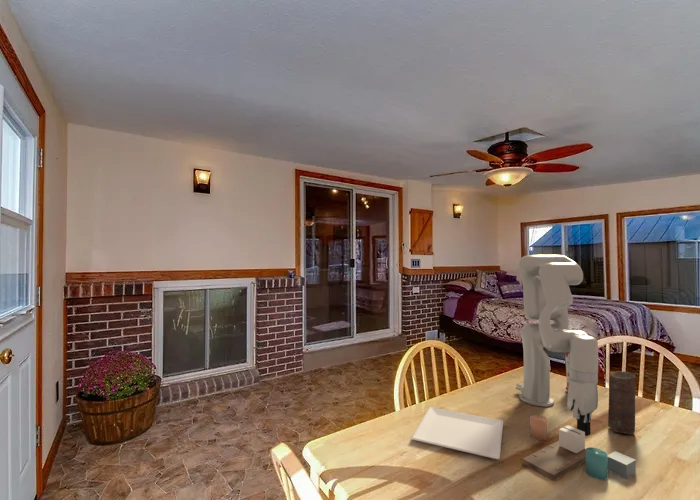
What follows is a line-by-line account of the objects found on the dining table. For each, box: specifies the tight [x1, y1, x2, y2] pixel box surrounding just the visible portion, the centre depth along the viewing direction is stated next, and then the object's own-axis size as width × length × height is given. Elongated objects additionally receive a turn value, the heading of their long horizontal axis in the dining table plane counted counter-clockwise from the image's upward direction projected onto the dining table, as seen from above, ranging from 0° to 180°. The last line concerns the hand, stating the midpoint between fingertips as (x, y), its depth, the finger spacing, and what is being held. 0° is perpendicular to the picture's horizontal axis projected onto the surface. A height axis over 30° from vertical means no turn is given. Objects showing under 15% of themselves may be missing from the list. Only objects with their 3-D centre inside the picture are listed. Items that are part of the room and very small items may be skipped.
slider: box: [558, 424, 586, 453], centre depth 110 cm, size 5×5×5 cm
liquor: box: [564, 327, 579, 392], centre depth 156 cm, size 7×7×28 cm
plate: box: [411, 406, 504, 460], centre depth 121 cm, size 26×26×2 cm
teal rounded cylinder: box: [585, 447, 609, 481], centre depth 99 cm, size 5×5×6 cm
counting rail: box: [522, 440, 586, 482], centre depth 106 cm, size 9×21×2 cm, turn 122°
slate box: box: [607, 450, 637, 480], centre depth 100 cm, size 5×5×4 cm
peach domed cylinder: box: [529, 414, 548, 441], centre depth 119 cm, size 5×5×6 cm
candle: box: [607, 370, 637, 435], centre depth 123 cm, size 8×7×20 cm
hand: (583, 433), depth 113 cm, fingers closed
